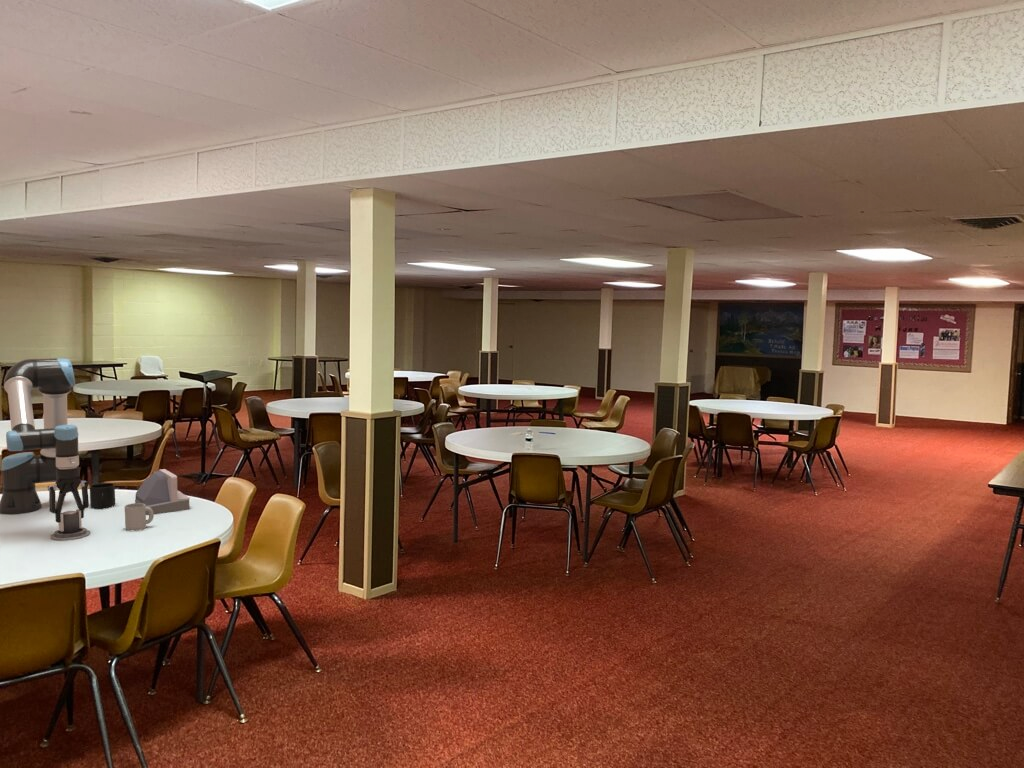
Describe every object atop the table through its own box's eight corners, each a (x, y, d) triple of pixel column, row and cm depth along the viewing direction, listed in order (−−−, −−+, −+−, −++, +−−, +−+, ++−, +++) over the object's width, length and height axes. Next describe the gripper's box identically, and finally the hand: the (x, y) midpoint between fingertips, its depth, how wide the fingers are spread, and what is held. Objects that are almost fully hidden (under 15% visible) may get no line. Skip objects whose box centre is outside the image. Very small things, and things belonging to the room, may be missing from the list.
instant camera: (191, 511, 336) (190, 475, 335) (136, 516, 326) (135, 480, 324) (184, 500, 354) (183, 466, 353) (132, 505, 344) (131, 470, 343)
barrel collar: (44, 535, 297) (44, 531, 297) (81, 528, 307) (81, 524, 307) (58, 542, 289) (58, 537, 289) (96, 535, 299) (96, 530, 298)
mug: (90, 511, 333) (89, 490, 332) (90, 505, 344) (89, 484, 343) (115, 509, 337) (114, 487, 336) (115, 502, 348) (114, 482, 347)
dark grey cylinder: (59, 534, 298) (58, 512, 297) (75, 531, 302) (74, 509, 301) (65, 537, 294) (64, 514, 293) (81, 534, 298) (80, 512, 297)
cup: (124, 527, 310) (124, 504, 309) (153, 523, 315) (152, 501, 314) (126, 531, 304) (125, 508, 303) (154, 528, 309) (154, 505, 308)
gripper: (44, 472, 286) (46, 536, 288) (98, 465, 300) (100, 525, 302) (36, 469, 291) (39, 532, 293) (89, 462, 305) (92, 522, 307)
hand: (70, 528), depth 298 cm, fingers closed on dark grey cylinder, 5 cm apart
